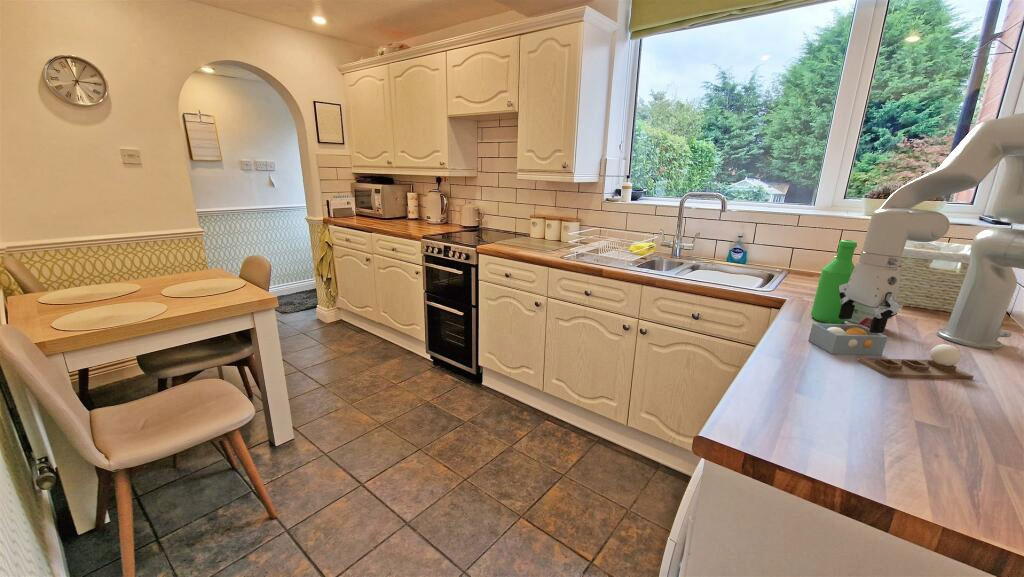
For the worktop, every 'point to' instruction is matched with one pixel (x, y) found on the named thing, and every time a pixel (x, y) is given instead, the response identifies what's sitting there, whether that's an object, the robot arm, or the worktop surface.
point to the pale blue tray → (847, 340)
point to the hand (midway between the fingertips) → (859, 325)
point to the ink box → (862, 314)
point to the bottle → (833, 284)
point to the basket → (932, 274)
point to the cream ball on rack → (945, 355)
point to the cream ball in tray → (837, 330)
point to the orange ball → (856, 331)
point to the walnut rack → (914, 368)
